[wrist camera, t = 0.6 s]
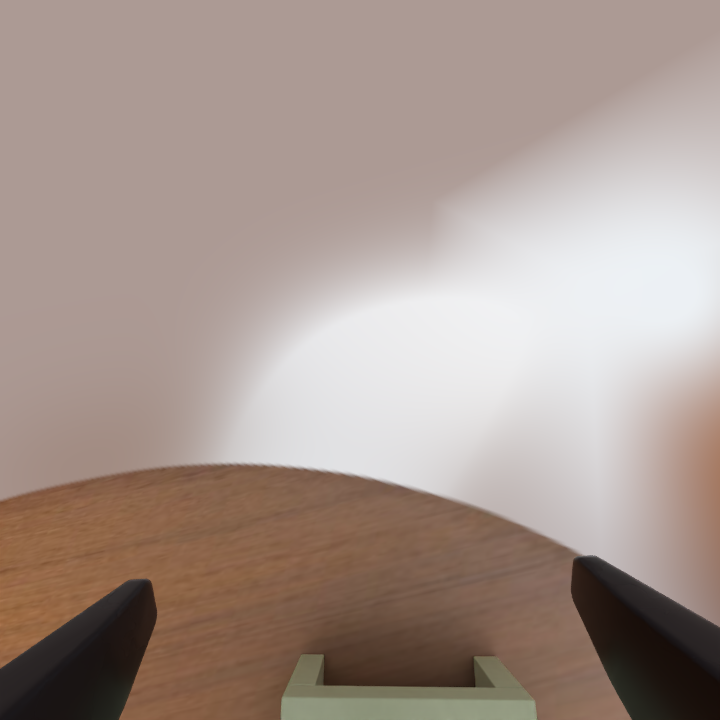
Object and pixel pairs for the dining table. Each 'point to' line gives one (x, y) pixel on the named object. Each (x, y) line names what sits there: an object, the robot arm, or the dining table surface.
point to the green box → (406, 697)
